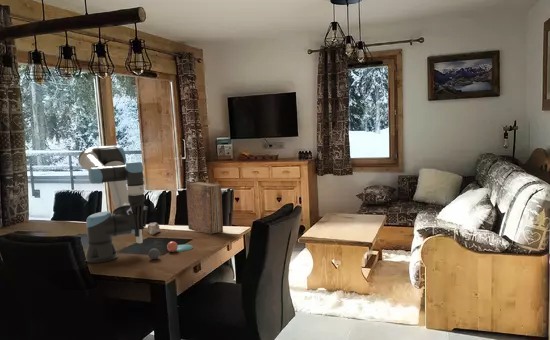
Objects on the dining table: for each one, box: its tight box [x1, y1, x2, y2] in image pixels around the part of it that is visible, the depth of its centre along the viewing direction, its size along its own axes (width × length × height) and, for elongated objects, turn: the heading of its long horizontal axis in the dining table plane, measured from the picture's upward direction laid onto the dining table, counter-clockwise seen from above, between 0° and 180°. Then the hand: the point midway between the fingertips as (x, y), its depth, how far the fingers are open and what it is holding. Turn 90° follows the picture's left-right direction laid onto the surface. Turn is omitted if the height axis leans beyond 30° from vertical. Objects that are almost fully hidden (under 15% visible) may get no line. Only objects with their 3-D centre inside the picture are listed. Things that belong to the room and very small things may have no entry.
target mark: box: [173, 244, 194, 253], centre depth 244 cm, size 13×13×1 cm
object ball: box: [166, 240, 179, 253], centre depth 237 cm, size 6×6×6 cm
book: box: [185, 181, 224, 236], centre depth 282 cm, size 25×9×30 cm, turn 43°
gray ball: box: [148, 247, 161, 260], centre depth 225 cm, size 6×6×6 cm
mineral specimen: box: [146, 222, 161, 236], centre depth 281 cm, size 13×7×6 cm, turn 31°
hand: (139, 242), depth 215 cm, fingers closed
